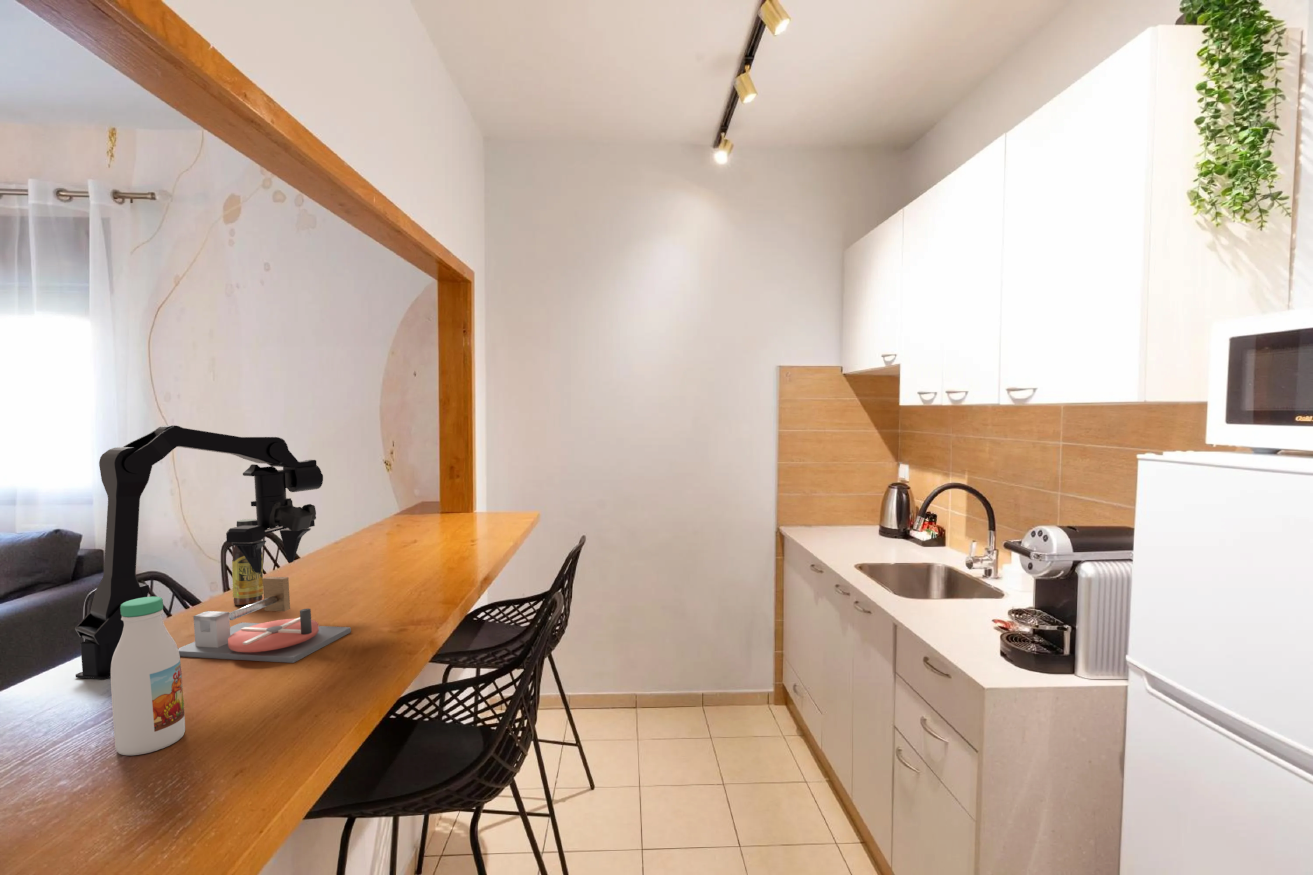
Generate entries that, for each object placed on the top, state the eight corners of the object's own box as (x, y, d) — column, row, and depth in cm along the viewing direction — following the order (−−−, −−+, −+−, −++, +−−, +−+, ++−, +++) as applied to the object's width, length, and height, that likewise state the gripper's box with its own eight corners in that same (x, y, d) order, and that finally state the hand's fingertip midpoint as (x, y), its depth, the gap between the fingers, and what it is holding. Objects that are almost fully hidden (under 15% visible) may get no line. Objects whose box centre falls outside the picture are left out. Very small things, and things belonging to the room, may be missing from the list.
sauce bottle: (239, 608, 153) (234, 523, 152) (228, 603, 157) (223, 521, 156) (269, 600, 158) (264, 519, 157) (258, 596, 162) (253, 516, 161)
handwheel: (281, 654, 117) (279, 623, 117) (208, 650, 120) (206, 620, 120) (337, 625, 132) (335, 598, 132) (270, 622, 135) (269, 596, 135)
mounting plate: (293, 662, 119) (291, 625, 118) (172, 655, 124) (170, 619, 124) (350, 632, 135) (349, 598, 134) (241, 626, 140) (239, 594, 139)
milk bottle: (129, 763, 86) (118, 612, 85) (105, 748, 90) (95, 604, 89) (196, 736, 92) (186, 596, 91) (171, 723, 97) (161, 589, 95)
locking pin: (242, 628, 131) (240, 594, 130) (221, 627, 132) (218, 593, 131) (290, 608, 143) (288, 577, 143) (270, 608, 144) (268, 576, 144)
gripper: (269, 502, 130) (273, 579, 131) (333, 489, 149) (337, 557, 149) (221, 501, 133) (226, 578, 134) (291, 489, 151) (294, 556, 152)
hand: (275, 567), depth 142 cm, fingers open, 9 cm apart
